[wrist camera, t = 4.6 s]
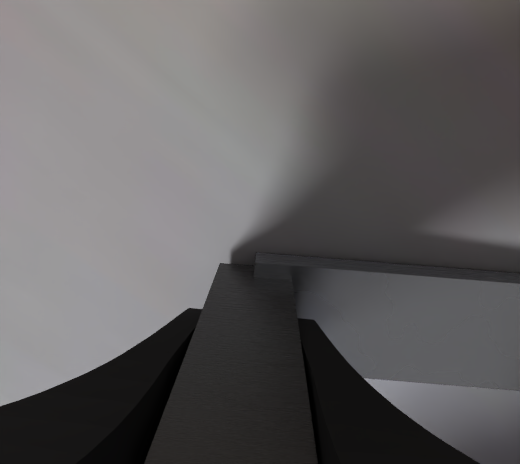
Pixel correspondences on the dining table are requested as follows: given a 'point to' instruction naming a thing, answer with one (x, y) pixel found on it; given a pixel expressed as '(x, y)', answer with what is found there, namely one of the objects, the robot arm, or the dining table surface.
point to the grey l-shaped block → (342, 337)
